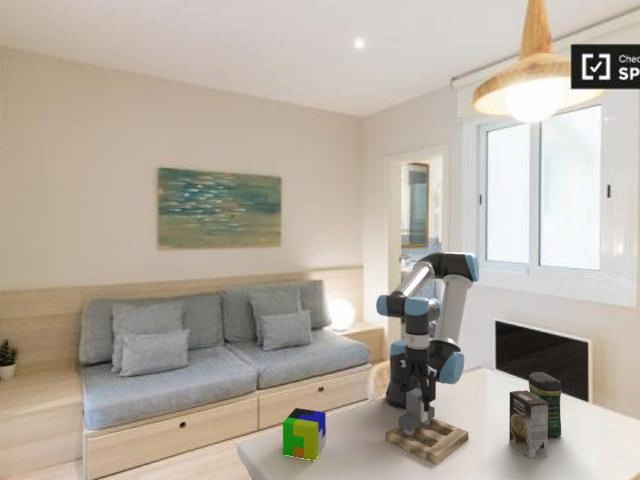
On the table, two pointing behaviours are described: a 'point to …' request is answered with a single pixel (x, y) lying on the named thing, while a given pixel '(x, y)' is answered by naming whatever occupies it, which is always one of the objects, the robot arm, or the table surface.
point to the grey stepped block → (414, 412)
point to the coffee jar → (548, 399)
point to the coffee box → (528, 423)
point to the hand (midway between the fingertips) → (417, 417)
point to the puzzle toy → (304, 433)
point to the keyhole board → (430, 440)
